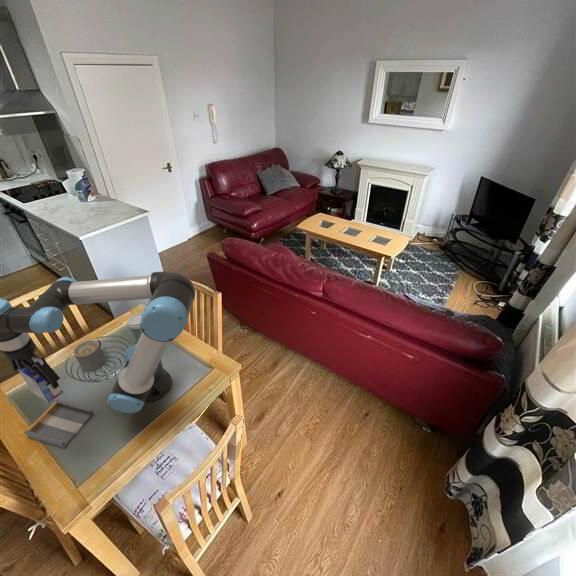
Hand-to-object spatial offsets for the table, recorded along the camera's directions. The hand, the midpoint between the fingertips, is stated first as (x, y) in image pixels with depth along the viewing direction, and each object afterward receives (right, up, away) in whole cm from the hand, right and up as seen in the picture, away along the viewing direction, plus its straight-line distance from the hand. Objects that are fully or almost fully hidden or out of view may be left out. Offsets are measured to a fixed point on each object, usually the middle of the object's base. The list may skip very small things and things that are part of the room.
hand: (45, 388), depth 107 cm
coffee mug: (-4, +2, +34) cm, 34 cm away
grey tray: (0, -17, +8) cm, 19 cm away
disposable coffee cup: (+14, +9, +45) cm, 48 cm away
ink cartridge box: (0, -2, +1) cm, 3 cm away
